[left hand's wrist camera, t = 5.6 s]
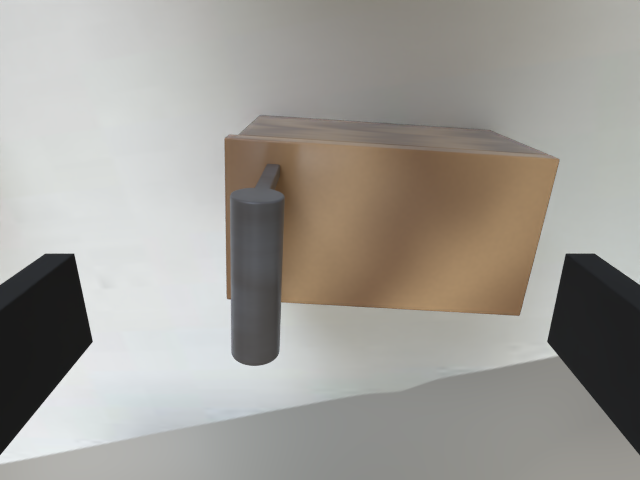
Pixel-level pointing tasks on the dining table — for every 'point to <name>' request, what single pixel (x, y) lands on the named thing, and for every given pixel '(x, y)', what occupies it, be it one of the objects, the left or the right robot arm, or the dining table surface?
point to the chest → (384, 134)
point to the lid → (375, 230)
